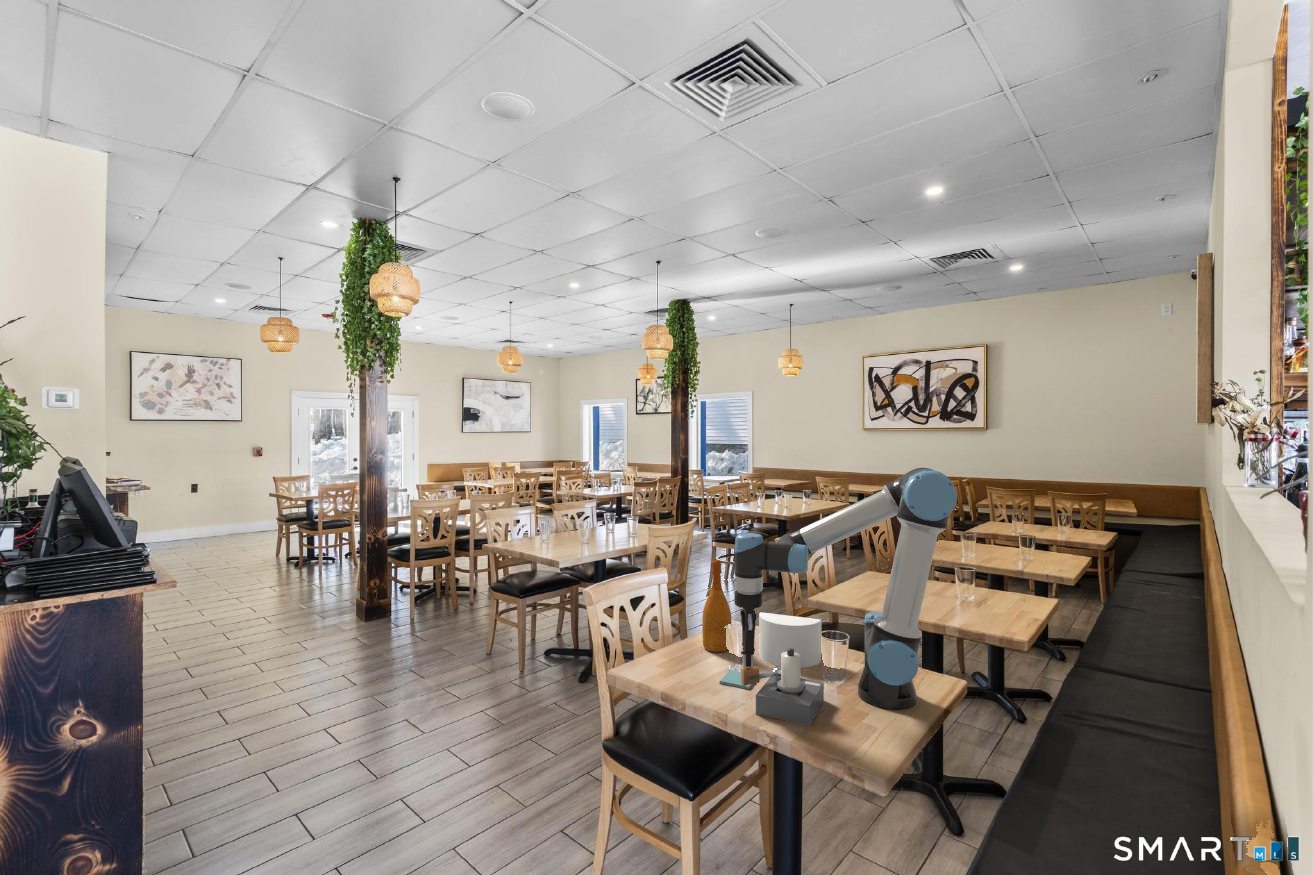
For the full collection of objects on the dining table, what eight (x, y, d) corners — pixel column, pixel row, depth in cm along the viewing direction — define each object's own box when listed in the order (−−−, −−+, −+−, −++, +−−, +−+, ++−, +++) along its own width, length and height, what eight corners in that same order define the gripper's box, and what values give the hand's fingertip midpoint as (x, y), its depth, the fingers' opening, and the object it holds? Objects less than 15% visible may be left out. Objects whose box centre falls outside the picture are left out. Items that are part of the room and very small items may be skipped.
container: (826, 650, 204) (826, 610, 204) (816, 672, 185) (816, 628, 185) (767, 642, 212) (767, 604, 212) (752, 662, 194) (752, 620, 193)
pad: (758, 677, 181) (758, 675, 181) (749, 689, 173) (749, 686, 173) (730, 672, 185) (730, 669, 185) (719, 683, 177) (719, 680, 177)
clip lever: (745, 686, 162) (745, 672, 162) (739, 682, 165) (739, 668, 164) (801, 675, 169) (801, 661, 169) (794, 671, 172) (794, 657, 172)
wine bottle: (726, 642, 212) (726, 556, 212) (735, 652, 202) (734, 562, 202) (699, 644, 210) (699, 557, 210) (706, 654, 201) (706, 563, 200)
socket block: (823, 700, 166) (823, 677, 166) (809, 725, 152) (809, 700, 152) (773, 690, 173) (773, 668, 172) (755, 713, 158) (755, 689, 158)
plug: (806, 704, 164) (806, 647, 163) (800, 715, 157) (800, 655, 157) (781, 699, 167) (781, 643, 167) (774, 709, 161) (774, 651, 160)
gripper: (732, 584, 172) (732, 666, 173) (736, 597, 159) (735, 686, 160) (759, 584, 171) (759, 667, 172) (765, 598, 159) (764, 687, 159)
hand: (747, 676), depth 166 cm, fingers closed
